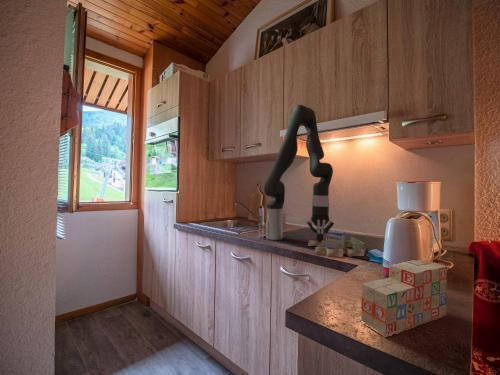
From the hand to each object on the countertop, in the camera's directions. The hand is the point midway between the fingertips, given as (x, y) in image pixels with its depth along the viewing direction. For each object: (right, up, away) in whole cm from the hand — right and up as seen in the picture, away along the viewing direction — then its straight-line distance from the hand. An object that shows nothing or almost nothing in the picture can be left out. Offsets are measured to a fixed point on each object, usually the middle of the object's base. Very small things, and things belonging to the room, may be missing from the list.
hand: (319, 241), depth 116 cm
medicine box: (+7, -4, 0) cm, 9 cm away
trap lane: (+7, -4, -1) cm, 9 cm away
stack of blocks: (+3, -6, -59) cm, 59 cm away
